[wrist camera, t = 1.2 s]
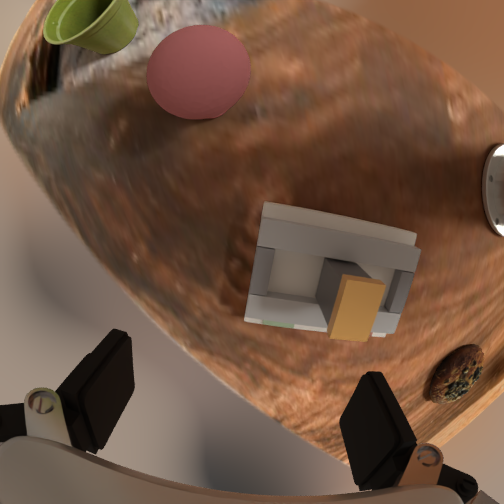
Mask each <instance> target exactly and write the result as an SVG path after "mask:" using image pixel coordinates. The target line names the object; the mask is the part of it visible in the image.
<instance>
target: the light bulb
mask: <svg viewBox="0 0 504 504" xmlns="http://www.w3.org/2000/svg"><path fill="white" fill-rule="evenodd" d="M250 74H251V65H250V59H249V56H248V53H247V51H246V49H245V47H244V46H243V44H242V43H241V42H240V41H239V40H238V39H237V38H236V37H235V36H234V35H233V34H231V33H229V32H228V31H226V30H224V29H221V28H218V27H215V26H210V25H194V26H188V27H185V28H182V29H180V30H177V31H175V32H173V33H172V34H170V35H169V36H167V37H166V38H165V39H163V40H162V41H161V42H160V43H159V45H158V46H157V47H156V49H155V50H154V51H153V53H152V55H151V57H150V60H149V63H148V67H147V84H148V87H149V90H150V93H151V95H152V96H153V98H154V100H155V101H156V102H157V103H158V104H159V105H160V106H161V107H162V108H163V109H164V110H166V111H167V112H169V113H171V114H173V115H175V116H178V117H181V118H186V119H205V118H217V117H219V116H221V115H223V114H224V113H225V112H226V111H227V110H228V109H229V108H231V107H232V106H233V105H234V104H235V103H236V102H237V101H238V100H239V99H240V98H241V96H242V95H243V94H244V92H245V90H246V88H247V86H248V83H249V79H250Z"/></svg>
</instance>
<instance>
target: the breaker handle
mask: <svg viewBox="0 0 504 504" xmlns="http://www.w3.org/2000/svg"><path fill="white" fill-rule="evenodd" d="M385 288H386V285H385V284H384V283H383V282H382V281H381V280H378V279H372V278H371V277H370V276H369V275H368V274H367V273H366V272H365V271H364V270H363V269H362V268H361V267H360V266H359V265H358V264H357V263H356V262H350V261H344V260H339V259H333V258H327V257H325V258H324V262H323V266H322V270H321V275H320V279H319V283H318V287H317V291H316V295H315V297H316V300H317V302H318V304H319V307H320V309H321V311H322V314H323V316H324V318H325V321H326V323H327V326H328V328H327V333H328V336H329V338H330V339H339V340H351V341H365V342H367V340H368V337H369V335H370V332H371V329H372V326H373V324H374V321H375V318H376V315H377V312H378V309H379V306H380V303H381V300H382V297H383V294H384V291H385Z"/></svg>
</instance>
